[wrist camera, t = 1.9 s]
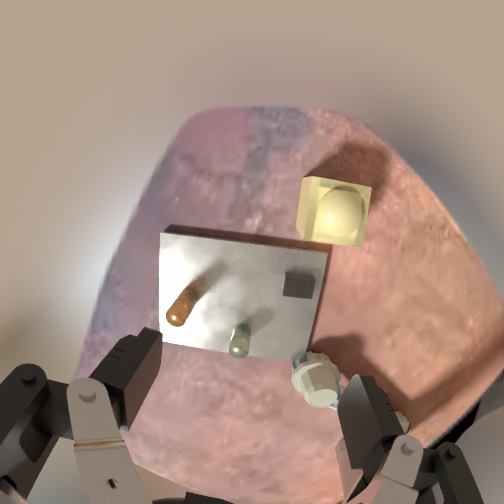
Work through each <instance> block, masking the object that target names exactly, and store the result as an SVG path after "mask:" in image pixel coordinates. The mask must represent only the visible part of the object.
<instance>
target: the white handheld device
mask: <svg viewBox="0 0 504 504" xmlns="http://www.w3.org/2000/svg"><path fill="white" fill-rule="evenodd" d="M292 371H293V374H292V377H291V381H292V384H293V386H294V387H295V389H296V391H298V392H300V393H302V394H303V395H304V397H305V399H306V401H307V402H308V403H309V404H310V405H312V406H314V407H326V406H328V407H330V408H332V409H333V410H335V411H337V406H338V401H339V399H340V397H341V395H342V394H343V392H344V390H345V389H346V388H345V387H343V386H341V385H339V384H338V383H339V381H340V378H341V377H340V374H339V371H338V368H337V366H336V365H334V364H333V363H332V362H331V360H330V358H329V357H328V356H327V355H325V354H324V353H323V352H321V353H312V351H309V352H306V353H305V357H303V358H301V359H300V360H299V361H298V360H293V364H292ZM394 412H395V413H396V415H397V417H398V420H399V422H400V424H401V426H402V428H403V431H404V433H405V434H407V433H408V431H409V428H410V425H411V423H410V422H409V420H408V418H407V417H405V416H403V415H402V413H401V412H398V411H394Z"/></svg>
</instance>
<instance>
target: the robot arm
mask: <svg viewBox="0 0 504 504" xmlns="http://www.w3.org/2000/svg"><path fill="white" fill-rule="evenodd" d="M162 344H163V333H162V332H159V331H156V330H153V329H150V328H147V327H144V328H143V329H142V331H141V332H140V333H139V335H138V336H137V337H136V336H133V335H128V336H126V337H124V338H122V339H120V340H119V341H118V342H117V343H116V345H115V346H114V348H112V349H111V351H110V352H109V353H108V355H106V357H105V358H104V359H103V360H102V361H101V363H100V364H99V365H98V366H97V368H96V369H95V370H94V371H93V373H92V374H91V375H90V376H89V377H88V378H79V379H76V380H74V381H72V382H71V383H70V384H65V383H61V382H57V381H52V380H49V379H47V377H46V374H45V372H44V370H43V369H42V368H40V367H39V366H37V365H35V364H22V365H20V366H18V367H16V368H15V369H14V370H13V371H12V372H11V373H10V374H9V375H8V377H7V378H6V379H5V380H4V381H3V382H2V383H1V384H0V504H30V503H29V502H28V501H27V500H26V499H27V497H28V495H29V493H30V491H31V489H32V487H33V485H34V483H35V481H36V479H37V477H38V475H39V473H40V472H41V470H42V468H43V466H44V464H45V462H46V460H47V458H48V457H49V455H50V453H51V451H52V449H53V448H54V446H55V444H56V442H57V441H58V439H59V437H63V438H67V439H71V440H74V441H75V444H74V452H75V456H76V460H77V464H78V468H79V471H80V475H81V478H82V481H83V485H84V488H85V491H86V494H87V497H88V500H89V502H90V504H233V503H231V502H228V501H225V500H223V499H218V498H213V497H208V496H203V495H199V494H194V493H190V492H186V496H185V498H164V499H158V500H153V501H151V499H150V498H149V496H148V494H147V492H146V490H145V488H144V486H143V484H142V481H141V479H140V477H139V475H138V472H137V470H136V468H135V466H134V463H133V461H132V458H131V456H130V453H129V451H128V448H127V446H126V444H125V442H124V440H122V437H121V435H120V432H119V429H120V428H122V429H124V430H126V431H129V429H130V427H131V425H132V423H133V421H134V419H135V417H136V415H137V413H138V411H139V409H140V407H141V405H142V403H143V401H144V400H145V398H146V396H147V394H148V392H149V390H150V388H151V386H152V384H153V382H154V380H155V378H156V376H157V374H158V372H159V369H160V365H161V355H162ZM337 412H338V416H339V420H340V424H341V428H342V432H343V436H344V439H342V440H341V441H340V442H339V443H338V445H337V447H336V454H337V460H338V464H339V470H340V475H341V481H342V486H343V492H344V498H345V499H344V501H343V502H342V504H436V501H435V497H434V494H433V491H432V487H434V486H435V485H436V484H437V483H439V485H440V488H441V490H442V494H443V497H444V503H443V504H484V503H483V500H482V498H481V495H480V492H479V490H478V487H477V485H476V482H475V480H474V478H473V475H472V473H471V471H470V469H469V466H468V464H467V462H466V460H465V458H464V456H463V453H462V451H461V449H460V448H459V447H458V446H457V445H455V444H454V443H451V442H444V443H442V444H441V445H440V446H439V447H438V448H437V449H436V450H432V449H426V448H423V446H422V444H421V443H420V442H419V440H417V439H416V438H415V437H413V436H410V435H405V433H404V431H403V428H402V426H401V424H400V422H399V420H398V417H397V415H396V413H395V412H394V409H393V407H392V405H391V402H390V400H389V398H388V396H387V394H386V393H385V392H384V391H383V390H382V389H381V388H380V387H378V386H377V384H376V382H375V380H374V378H373V376H371V375H361V374H355V375H354V376H353V377H352V378H351V380H350V382H349V384H348V385H347V387H346V389H345V390H344V392H343V394H342V395H341V397H340V399H339V401H338V406H337Z"/></svg>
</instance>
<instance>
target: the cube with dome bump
mask: <svg viewBox="0 0 504 504" xmlns="http://www.w3.org/2000/svg"><path fill="white" fill-rule="evenodd" d="M371 190H372V187H367V186H363V185H358V184H353V183H348V182H342V181H337V180H332V179H326V178H320V177H314V176H310V177H304V178H302V184H301V192H300V200H299V207H298V214H297V221H296V229H297V231H298V232H299V234H300V236H301V237H302V239H303V240H309V241H316V242H324V243H331V244H338V245H345V246H352V247H359V248H362V244H363V239H364V233H365V228H366V222H367V216H368V210H369V204H370V197H371Z"/></svg>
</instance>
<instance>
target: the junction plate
mask: <svg viewBox="0 0 504 504" xmlns="http://www.w3.org/2000/svg"><path fill="white" fill-rule="evenodd" d="M327 256H328V253H327V252H326V251H319V250H312V249H304V248H297V247H289V246H282V245H274V244H266V243H258V242H250V241H242V240H235V239H227V238H218V237H210V236H202V235H194V234H186V233H177V232H169V231H163V232H161V233H160V264H159V303H160V332H162V333H163V341H167V342H171V343H176V344H181V345H186V346H192V347H197V348H203V349H208V350H214V351H221V352H227V353H230V354H231V355H232V356H233V357H235V358H244V357H246V356H247V355H249V356H257V357H266V358H275V359H286V360H298V361H299V360H300V359H301V358H303V357H305V353H306V350H307V346H308V342H309V338H310V334H311V330H312V326H313V322H314V317H315V313H316V309H317V304H318V300H319V295H320V291H321V286H322V281H323V276H324V271H325V266H326V261H327Z"/></svg>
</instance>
